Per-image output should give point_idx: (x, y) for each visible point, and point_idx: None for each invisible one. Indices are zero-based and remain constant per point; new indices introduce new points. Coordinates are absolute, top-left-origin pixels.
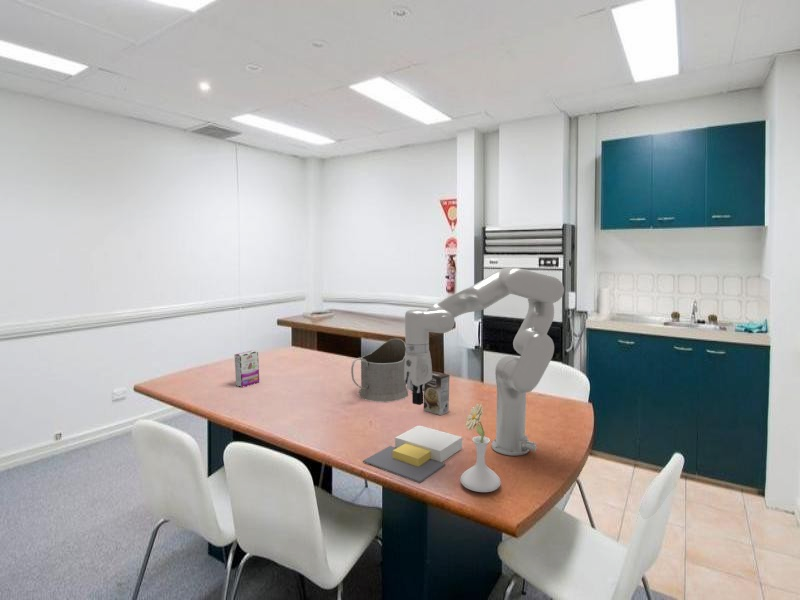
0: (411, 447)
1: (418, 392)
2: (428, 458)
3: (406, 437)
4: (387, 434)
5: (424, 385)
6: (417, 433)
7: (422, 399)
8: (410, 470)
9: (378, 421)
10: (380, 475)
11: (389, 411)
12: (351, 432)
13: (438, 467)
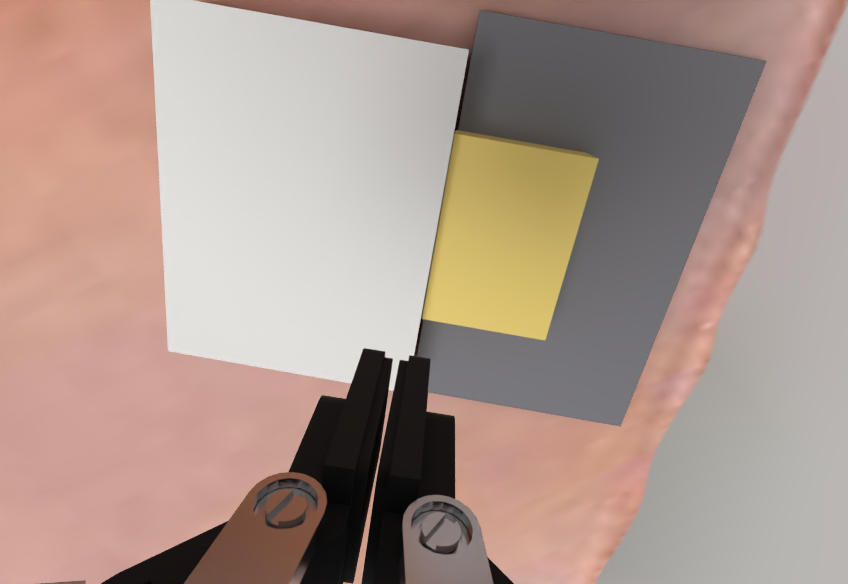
0: (459, 265)
1: (442, 519)
2: (479, 134)
3: (375, 339)
4: (282, 453)
5: (198, 568)
6: (284, 307)
7: (375, 384)
8: (648, 172)
9: (179, 540)
10: (725, 294)
11: (45, 547)
12: (354, 578)
13: (551, 29)
